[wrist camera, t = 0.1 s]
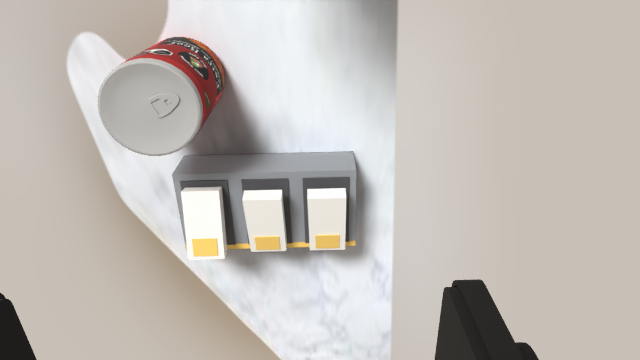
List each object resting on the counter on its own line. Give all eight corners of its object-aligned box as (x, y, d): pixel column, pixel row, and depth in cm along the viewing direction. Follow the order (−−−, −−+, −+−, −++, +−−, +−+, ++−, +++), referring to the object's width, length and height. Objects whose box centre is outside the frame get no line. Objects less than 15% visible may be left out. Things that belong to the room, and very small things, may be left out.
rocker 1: (185, 187, 44) (180, 192, 42) (221, 186, 44) (218, 191, 42) (192, 253, 46) (187, 260, 44) (227, 252, 46) (224, 259, 44)
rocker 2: (244, 190, 42) (242, 201, 41) (282, 189, 42) (281, 200, 41) (252, 241, 47) (250, 252, 46) (286, 240, 47) (286, 251, 46)
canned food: (242, 77, 44) (222, 112, 34) (189, 128, 46) (156, 175, 37) (182, 16, 41) (141, 35, 32) (129, 74, 44) (75, 109, 34)
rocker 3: (307, 188, 42) (307, 199, 41) (345, 188, 42) (346, 198, 41) (309, 240, 47) (309, 251, 46) (344, 239, 47) (345, 250, 46)
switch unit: (184, 155, 48) (171, 175, 44) (352, 151, 48) (356, 170, 44) (197, 229, 52) (186, 254, 48) (352, 225, 52) (355, 249, 48)
